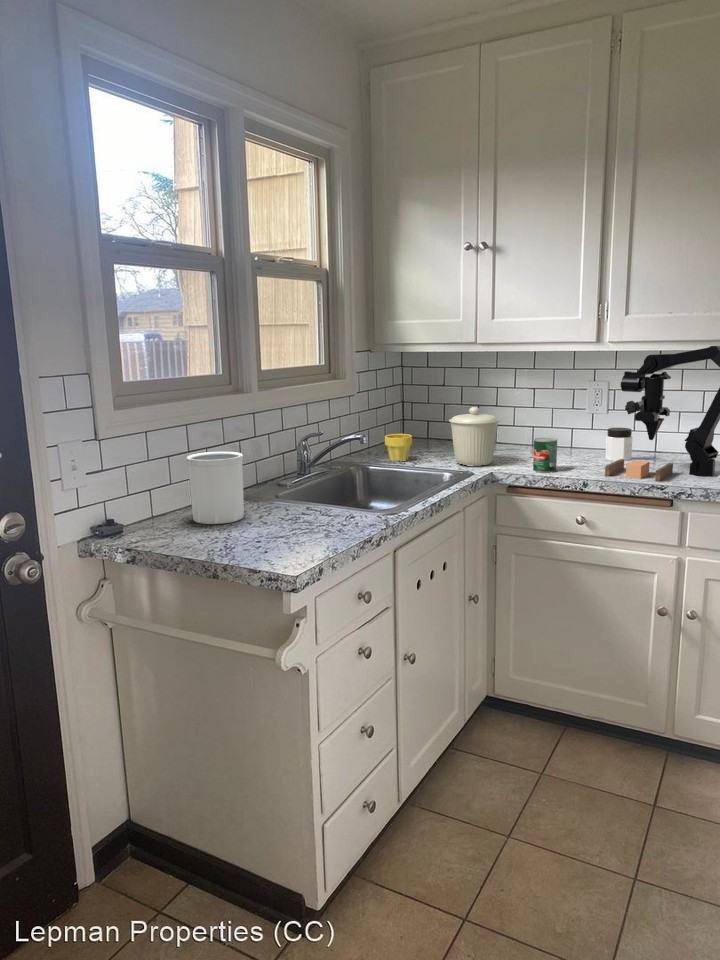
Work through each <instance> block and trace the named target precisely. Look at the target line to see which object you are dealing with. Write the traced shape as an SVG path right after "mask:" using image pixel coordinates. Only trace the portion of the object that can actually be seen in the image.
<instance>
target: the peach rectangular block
mask: <svg viewBox="0 0 720 960" xmlns="http://www.w3.org/2000/svg"><path fill="white" fill-rule="evenodd" d="M650 463H651V462H650V461H645V460H633V461H631V462H629V463H627V464H626V465H625V478H628V479H638V480H642V479H643V478H644V477H646V476H648V475H649V474H650V468H649V467H650Z"/></svg>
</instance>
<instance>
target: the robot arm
mask: <svg viewBox="0 0 720 960" xmlns="http://www.w3.org/2000/svg"><path fill="white" fill-rule="evenodd" d="M706 360H711V361H713V363H714V364H715V365H716V366H717V367H718V368H720V345H711V346H709V347H704V348H698V349H694V350H688V351H683V352H677V353H656V354H654V353H653V354H649V355H647V356H646V357H645V358H644V361H643V364H642V365H641V367H640V368H639V369H638V370H637V371H631V370H630V371H629V370H626V371H624V374H623V376H622V379H621V381H620V389H621V391H622V392H624V393H626V392H628V393H641V392H643V390H644V395H642V397H641V399H640V400H639V401H637V402H635V401H634V400H629V401H627V402H626V404H625V406H624V410H625V411H626V412H627V415H631V414H634V413H635V414H634V421H636V422H642V423H643V424H644V425H645V427H646V428H645V429H646V432H647V435H648V436H647V437H648V440H649V441H653V440H654V439H655V437H656V435H657V433H658V431H659V429H660V428H661V426H662V424H663V422H664V421H665V417H669V416H670V413H671V412H670V411H671V410H670V409H669V408H668V407H667V406H666V407H665V406H663V403H664V401H663V400H665V399H666V398H665V397H666V396H665V395H664V388H665V387H664V385H665V380H666V381H667V380H670V379H672V377H671V375H669V374H668V373H667V371H665V370H668V369H671V368H673V367H676V366H678V365H679V366H680V365H683V364H690V363H696V362H702V361H706ZM657 372H661V373H657ZM647 375H650V376H647ZM661 416H665V417H661ZM719 422H720V387H718V390H717V392H716V394H715V395H714V398H713V400H712V401H711V404H710V406H709V408H708V410H707V412H706V414H705V415H704V417H703V419H702V421H701V423H700V425H699V426H698V427H694V428H691V429H690V430H689V431H688V435H687V437H686V438H685V439H684V441H685V445H684V448H685V450H686V452H687V453H688V454H689V458H690V461H691V462H690V463H689V470H688V471H689V475H690V476H695V477H702V478H706V477H710V478H712V477H714V476H715V472H716V470H715V469H716V458H717V457H718V454H719V451H718V450H717V449H716V448H715V447H714V445H713V442H714V438H715V437H714V436H715V429H716V428H717V425H718V424H719Z"/></svg>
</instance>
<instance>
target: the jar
mask: <svg viewBox="0 0 720 960" xmlns="http://www.w3.org/2000/svg"><path fill="white" fill-rule="evenodd" d="M606 434H607V435H605V457H604V458H605V459H607V460H609V461H617V460H619V459H624V462H625V461H629V460H632V453H633V452H632V451H633V436H632V429H631V428H628V427H609V428H607V433H606Z"/></svg>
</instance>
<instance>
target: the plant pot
mask: <svg viewBox="0 0 720 960" xmlns="http://www.w3.org/2000/svg"><path fill="white" fill-rule="evenodd" d="M384 445H385V446H386V447H387V448H386V449H387V452H388V457H389V460H390V459H391V460H407V459H409V455H410V454H409V453H410V449H411V446H412V445H413V435H411V434H408V433H393V434H392V433H391V434H387V435H385V436H384ZM407 461H408V460H407Z"/></svg>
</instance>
